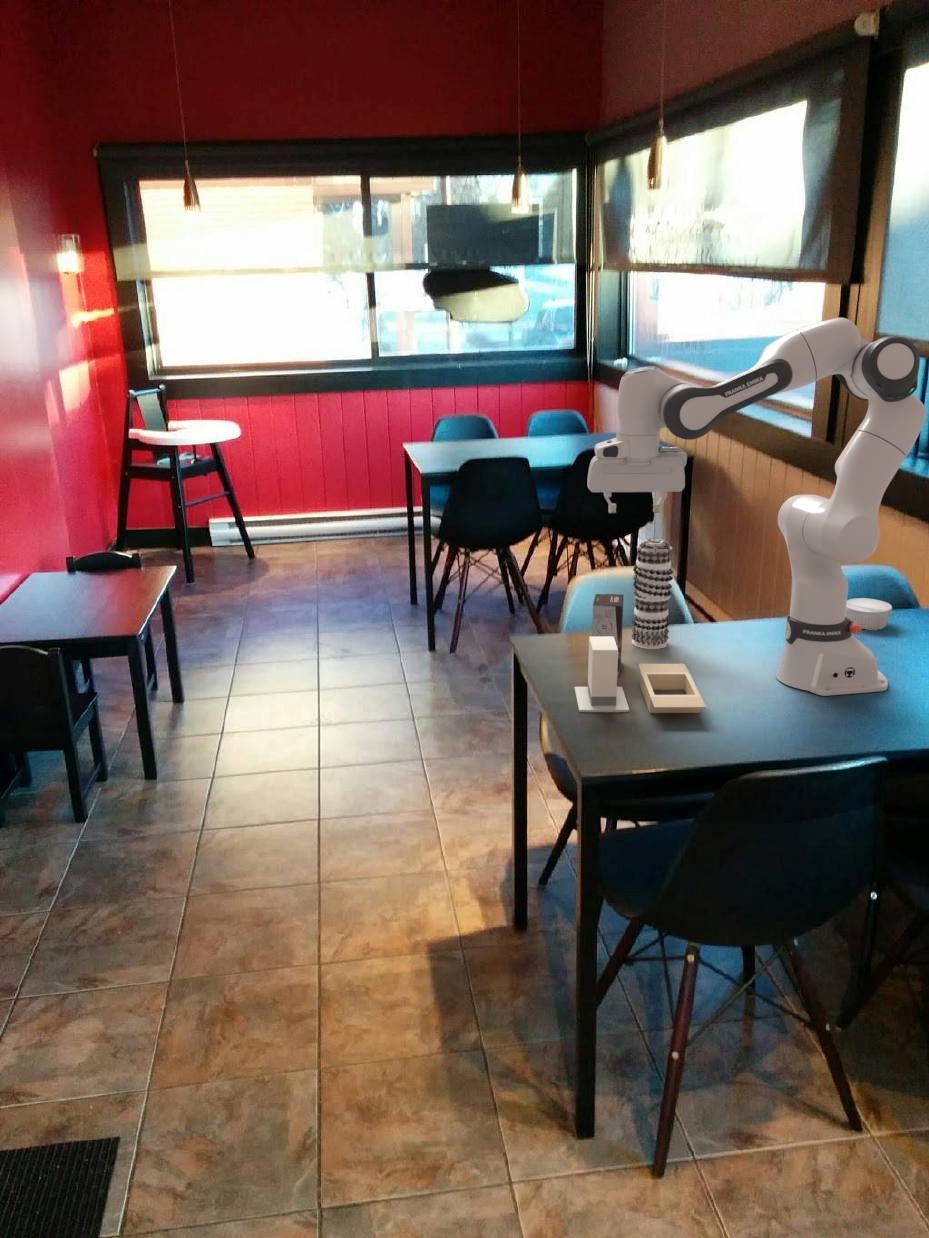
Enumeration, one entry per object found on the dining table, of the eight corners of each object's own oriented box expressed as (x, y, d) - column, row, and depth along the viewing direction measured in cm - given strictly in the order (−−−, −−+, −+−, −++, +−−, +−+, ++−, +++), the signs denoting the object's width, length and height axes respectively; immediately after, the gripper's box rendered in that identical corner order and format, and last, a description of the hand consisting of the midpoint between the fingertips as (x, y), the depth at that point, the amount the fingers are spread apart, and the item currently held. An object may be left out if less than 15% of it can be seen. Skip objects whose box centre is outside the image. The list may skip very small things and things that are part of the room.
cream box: (611, 690, 209) (613, 636, 205) (616, 705, 202) (618, 650, 198) (587, 690, 209) (589, 636, 205) (591, 705, 202) (592, 650, 198)
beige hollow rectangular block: (683, 678, 216) (684, 663, 215) (705, 723, 194) (706, 706, 193) (637, 678, 216) (637, 663, 215) (653, 723, 194) (654, 706, 193)
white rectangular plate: (621, 688, 211) (621, 686, 211) (629, 711, 200) (629, 709, 200) (574, 688, 211) (574, 686, 211) (579, 712, 200) (579, 709, 200)
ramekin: (846, 631, 244) (848, 610, 242) (837, 616, 254) (840, 597, 253) (894, 633, 242) (897, 612, 240) (884, 618, 253) (886, 598, 251)
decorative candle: (623, 645, 236) (627, 542, 228) (640, 634, 243) (644, 534, 235) (659, 652, 231) (664, 548, 223) (675, 641, 239) (681, 539, 231)
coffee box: (619, 676, 218) (622, 606, 213) (590, 674, 219) (592, 604, 214) (621, 661, 226) (624, 593, 221) (593, 660, 227) (595, 592, 222)
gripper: (684, 444, 210) (681, 508, 215) (587, 445, 211) (585, 509, 215) (690, 449, 204) (686, 515, 209) (590, 449, 205) (588, 515, 209)
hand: (634, 512), depth 212 cm, fingers open, 8 cm apart
